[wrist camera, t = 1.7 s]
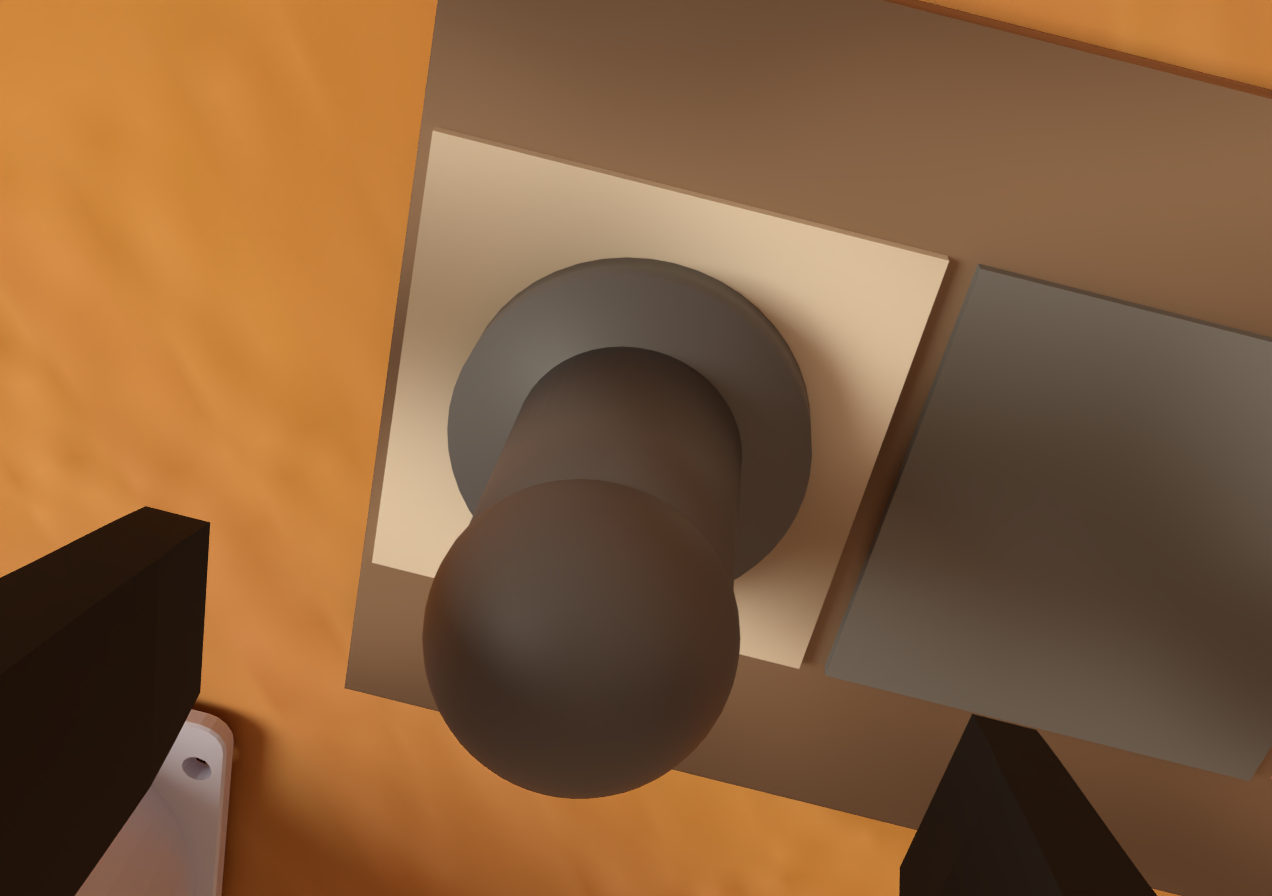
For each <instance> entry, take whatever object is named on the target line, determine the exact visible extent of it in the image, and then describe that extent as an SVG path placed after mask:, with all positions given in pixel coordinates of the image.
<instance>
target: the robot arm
mask: <svg viewBox="0 0 1272 896" xmlns="http://www.w3.org/2000/svg"><path fill="white" fill-rule="evenodd" d="M209 532H210V522H206V521H202V520H198V519H194V518H190V517H186V516H182V515H178V514H174V513H170V512H166V511H162V510H158V509H154V508H150V507H146V506H145V507H143V508H141V509H139V510H137V511H134V512H132V513H130V514H128V515H126V516H124V517H122V518H119V519H117V520H115V521H113V522H111V523H109V524H107V525H105V526H103V527H101V528H99V529H97V530H95V531H93V532H91V533H89V534H87V535H85V536H83V537H81V538H79V539H77V540H75V541H73V542H71V543H70V544H68V545H66V546H64V547H62V548H60V549H58V550H56V551H54V552H52V553H50V554H48V555H46V556H44V557H42V558H40V559H38V560H36V561H34V562H32V563H30V564H28V565H26V566H24V567H22V568H20V569H18V570H16V571H14V572H11V573H9V574H7V575H5V576H3V577H1V578H0V896H221V894H222V882H223V870H224V857H225V845H226V832H227V820H228V808H229V795H230V783H231V770H232V758H233V745H234V739H233V733H232V731H231V730H230V728H229V727H228V725H227V724H226V723H225V722H224V721H222V720H221V719H220V718H218V717H216V716H214V715H211V714H209V713H205V712H201V711H197V710H193V709H192V707H193V705H194V703H195V701H196V700H197V698H198V696H199V694H200V685H201V668H202V651H203V634H204V617H205V600H206V583H207V566H208V549H209ZM195 757H196V758H199V759H202V760H204V761H205V762H206V763H207V764H204V763H202V762H199V761H198V760H197V759H196V758H195ZM899 896H1157V895H1156V893H1155V892H1154V891H1153V889H1152V888H1151V887H1150V885H1149V884H1148V883H1147V881H1146V880H1145V879H1144V877H1143V876H1142V874H1141V873H1140V872H1139V870H1138V869H1137V868H1136V866H1135V865H1134V863H1133V862H1132V861H1131V859H1130V858H1129V857H1128V855H1127V854H1126V852H1125V851H1124V850H1123V848H1122V847H1121V846H1120V844H1119V843H1118V841H1117V840H1116V838H1115V837H1114V836H1113V834H1112V833H1111V831H1110V830H1109V829H1108V827H1107V826H1106V824H1105V823H1104V822H1103V820H1102V819H1101V817H1100V816H1099V815H1098V813H1097V812H1096V810H1095V809H1094V808H1093V806H1092V805H1091V803H1090V802H1089V801H1088V799H1087V798H1086V796H1085V795H1084V794H1083V792H1082V791H1081V789H1080V788H1079V787H1078V785H1077V784H1076V782H1075V781H1074V779H1073V778H1072V777H1071V775H1070V774H1069V772H1068V771H1067V770H1066V768H1065V767H1064V766H1063V764H1062V763H1061V761H1060V760H1059V759H1058V757H1057V756H1056V755H1055V753H1054V752H1053V750H1052V749H1051V748H1050V746H1049V745H1048V744H1047V743H1046V741H1045V740H1044V739H1043V737H1042V736H1041V735H1040V734H1039V732H1038V731H1037V730H1035V729H1031V728H1027V727H1023V726H1019V725H1015V724H1011V723H1007V722H1003V721H999V720H995V719H991V718H987V717H983V716H979V715H975V714H972V715H971V717H970V719H969V722H968V724H967V726H966V728H965V730H964V732H963V734H962V736H961V739H960V741H959V743H958V745H957V747H956V749H955V751H954V753H953V756H952V758H951V760H950V762H949V764H948V766H947V768H946V770H945V773H944V775H943V777H942V779H941V781H940V783H939V785H938V788H937V790H936V792H935V794H934V796H933V798H932V800H931V802H930V805H929V807H928V809H927V811H926V813H925V815H924V817H923V819H922V822H921V824H920V826H919V828H918V830H917V832H916V834H915V837H914V839H913V841H912V843H911V845H910V847H909V849H908V851H907V854H906V856H905V858H904V860H903V862H902V864H901V866H900V895H899Z"/></svg>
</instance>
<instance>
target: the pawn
mask: <svg viewBox="0 0 1272 896" xmlns="http://www.w3.org/2000/svg"><path fill="white" fill-rule="evenodd" d="M447 435H448V451H449V456H450V461H451V466H452V471H453V474H454V477H455V480H456V483H457V486H458V488H459V491H460V493H461V495H462V497H463V499H464V501H465V503H466V505H467V507H468V509H469V511H470V512H471V514H472V515H473V517H472V519H471V521H470V524H469V526H468V527H467V528H466V529H465V530H464V531H463V532H462V533H461V535H460V536H459V537H458V538H457V539H456V540H455V542H454V543H453V545H452V546H451V548H450V549H449V551H448V553H447V554H446V556H445V557H444V559H443V561H442V562H441V564H440V566H439V568H438V571H437V573H436V575H435V577H434V580H433V583H432V586H431V589H430V592H429V595H428V599H427V603H426V607H425V613H424V623H423V634H422V643H423V656H424V666H425V671H426V675H427V680H428V683H429V686H430V689H431V692H432V695H433V697H434V700H435V703H436V705H437V708H438V710H439V712H440V713H441V715H442V717H443V719H444V721H445V722H446V724H447V725H448V727H449V728H450V730H451V731H452V733H453V734H454V735H455V737H456V738H457V740H458V741H459V742H460V744H461V745H462V746H463V747H464V748H465V749H466V750H467V751H468V752H469V753H470V754H471V755H472V756H473V757H474V758H476V759H477V760H478V761H479V762H480V763H481V764H483V765H484V766H485V767H487V768H488V769H489V770H491V771H492V772H494V773H495V774H497V775H498V776H500V777H501V778H503V779H505V780H507V781H509V782H511V783H513V784H515V785H517V786H520V787H522V788H524V789H527V790H530V791H533V792H536V793H540V794H543V795H549V796H554V797H560V798H570V799H589V798H598V797H605V796H611V795H615V794H620V793H624V792H627V791H630V790H633V789H636V788H639V787H641V786H643V785H645V784H647V783H650V782H652V781H654V780H655V779H657V778H659V777H661V776H662V775H664V774H666V773H667V772H669V771H670V770H672V769H673V768H675V767H676V766H677V765H678V764H680V763H681V762H682V761H683V760H684V759H685V758H687V757H688V756H689V755H690V754H691V753H692V752H693V751H694V750H695V749H696V748H697V747H698V746H699V744H700V743H701V742H702V741H703V740H704V739H705V738H706V736H707V735H708V733H709V732H710V730H711V729H712V727H713V726H714V724H715V723H716V721H717V719H718V718H719V716H720V715H721V713H722V711H723V709H724V706H725V704H726V702H727V699H728V697H729V694H730V692H731V689H732V687H733V684H734V680H735V676H736V672H737V667H738V660H739V652H740V624H739V612H738V607H737V603H736V598H735V594H734V591H733V590H734V580H735V579H737V578H739V577H740V576H742V575H743V574H745V573H746V572H747V571H749V570H750V569H752V568H753V567H754V566H756V565H757V564H758V563H759V562H760V561H761V560H762V559H764V558H765V557H766V556H767V555H768V554H769V553H770V552H771V551H772V550H773V549H774V548H775V546H776V545H777V544H778V543H779V542H780V540H781V539H782V538H783V537H784V535H785V534H786V533H787V531H788V529H789V528H790V526H791V524H792V523H793V521H794V519H795V518H796V516H797V514H798V511H799V509H800V506H801V504H802V502H803V499H804V497H805V493H806V489H807V486H808V482H809V478H810V470H811V461H812V442H811V421H810V405H809V400H808V395H807V390H806V385H805V382H804V379H803V376H802V374H801V371H800V368H799V365H798V363H797V361H796V359H795V357H794V355H793V353H792V351H791V349H790V347H789V346H788V344H787V343H786V341H785V340H784V338H783V337H782V335H781V334H780V333H779V331H778V330H777V328H776V327H775V326H774V325H773V324H772V322H771V321H770V320H769V319H768V318H767V317H766V316H765V315H764V314H763V313H762V312H761V311H760V310H759V309H758V308H757V307H756V306H755V305H754V304H752V303H751V302H750V301H749V300H747V299H746V298H745V297H744V296H743V295H741V294H740V293H738V292H737V291H735V290H734V289H732V288H731V287H729V286H727V285H726V284H724V283H723V282H721V281H719V280H717V279H715V278H713V277H711V276H708V275H706V274H704V273H702V272H700V271H697V270H694V269H691V268H688V267H685V266H682V265H679V264H676V263H671V262H666V261H660V260H655V259H648V258H630V257H622V258H607V259H599V260H594V261H589V262H584V263H579V264H576V265H573V266H570V267H567V268H564V269H561V270H558V271H555V272H553V273H551V274H549V275H547V276H545V277H543V278H541V279H539V280H537V281H535V282H534V283H532V284H531V285H530V286H528V287H527V288H525V289H524V290H522V291H521V292H519V293H518V294H517V295H515V296H514V297H513V298H512V299H511V300H510V301H509V302H508V303H507V304H506V305H505V306H503V307H502V308H501V309H500V310H499V312H498V313H497V314H496V315H495V317H494V318H493V319H492V320H491V321H490V323H489V324H488V325H487V327H486V328H485V330H484V332H483V333H482V335H481V337H480V338H479V340H478V342H477V343H476V345H475V347H474V348H473V350H472V352H471V354H470V355H469V357H468V359H467V360H466V362H465V364H464V365H463V367H462V369H461V372H460V374H459V377H458V379H457V382H456V384H455V387H454V390H453V394H452V398H451V402H450V406H449V415H448V426H447Z"/></svg>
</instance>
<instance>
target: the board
mask: <svg viewBox="0 0 1272 896" xmlns="http://www.w3.org/2000/svg"><path fill="white" fill-rule="evenodd" d="M622 257H630V258H648V259H655V260H660V261H666V262H671V263H676V264H679V265H682V266H685V267H688V268H691V269H694V270H697V271H700V272H702V273H704V274H706V275H708V276H711V277H713V278H715V279H717V280H719V281H721V282H723V283H724V284H726V285H727V286H729V287H731V288H732V289H734V290H735V291H737V292H738V293H740V294H741V295H743V296H744V297H745V298H746V299H747V300H749V301H750V302H751V303H752V304H754V305H755V306H756V307H757V308H758V309H759V310H760V311H761V312H762V313H763V314H764V315H765V316H766V317H767V318H768V319H769V320H770V321H771V322H772V324H773V325H774V326H775V327H776V328H777V330H778V331H779V333H780V334H781V335H782V337H783V338H784V340H785V341H786V343H787V344H788V346H789V347H790V349H791V351H792V353H793V355H794V357H795V359H796V361H797V363H798V365H799V368H800V371H801V374H802V376H803V379H804V382H805V385H806V390H807V395H808V400H809V405H810V421H811V442H812V461H811V470H810V478H809V482H808V486H807V489H806V493H805V497H804V499H803V502H802V504H801V506H800V509H799V511H798V514H797V516H796V518H795V519H794V521H793V523H792V524H791V526H790V528H789V529H788V531H787V533H786V534H785V535H784V537H783V538H782V539H781V540H780V542H779V543H778V544H777V545H776V546H775V548H774V549H773V550H772V551H771V552H770V553H769V554H768V555H767V556H766V557H765V558H764V559H762V560H761V561H760V562H759V563H758V564H757V565H756V566H754V567H753V568H752V569H750V570H749V571H747V572H746V573H745V574H743V575H742V576H740V577H739V578H737V579H735V580H734V590H733V591H734V594H735V598H736V603H737V607H738V612H739V624H740V652H739V660H738V667H737V672H736V676H735V680H734V684H733V687H732V689H731V692H730V694H729V697H728V699H727V702H726V704H725V706H724V709H723V711H722V713H721V715H720V716H719V718H718V719H717V721H716V723H715V724H714V726H713V727H712V729H711V730H710V732H709V733H708V735H707V736H706V738H705V739H704V740H703V741H702V742H701V743H700V744H699V746H698V747H697V748H696V749H695V750H694V751H693V752H692V753H691V754H690V755H689V756H688V757H687V758H685V759H684V760H683V761H682V762H681V763H680V764H678V765H677V766H676V767H675V768H673V770H677V771H681V772H685V773H689V774H693V775H697V776H701V777H705V778H709V779H713V780H717V781H721V782H725V783H729V784H733V785H737V786H741V787H746V788H750V789H754V790H758V791H762V792H766V793H770V794H774V795H778V796H782V797H786V798H790V799H794V800H798V801H802V802H806V803H810V804H814V805H818V806H822V807H826V808H830V809H834V810H838V811H842V812H846V813H850V814H854V815H858V816H862V817H866V818H870V819H875V820H879V821H883V822H887V823H891V824H895V825H899V826H903V827H907V828H911V829H915V830H918V828H919V826H920V824H921V822H922V819H923V817H924V815H925V813H926V811H927V809H928V807H929V805H930V802H931V800H932V798H933V796H934V794H935V792H936V790H937V788H938V785H939V783H940V781H941V779H942V777H943V775H944V773H945V770H946V768H947V766H948V764H949V762H950V760H951V758H952V756H953V753H954V751H955V749H956V747H957V745H958V743H959V741H960V739H961V736H962V734H963V732H964V730H965V728H966V726H967V724H968V722H969V719H970V717H971V715H972V714H975V715H979V716H983V717H987V718H991V719H995V720H999V721H1003V722H1007V723H1011V724H1015V725H1019V726H1023V727H1027V728H1031V729H1035V730H1037V731H1038V732H1039V734H1040V735H1041V736H1042V737H1043V739H1044V740H1045V741H1046V743H1047V744H1048V745H1049V746H1050V748H1051V749H1052V750H1053V752H1054V753H1055V755H1056V756H1057V757H1058V759H1059V760H1060V761H1061V763H1062V764H1063V766H1064V767H1065V768H1066V770H1067V771H1068V772H1069V774H1070V775H1071V777H1072V778H1073V779H1074V781H1075V782H1076V784H1077V785H1078V787H1079V788H1080V789H1081V791H1082V792H1083V794H1084V795H1085V796H1086V798H1087V799H1088V801H1089V802H1090V803H1091V805H1092V806H1093V808H1094V809H1095V810H1096V812H1097V813H1098V815H1099V816H1100V817H1101V819H1102V820H1103V822H1104V823H1105V824H1106V826H1107V827H1108V829H1109V830H1110V831H1111V833H1112V834H1113V836H1114V837H1115V838H1116V840H1117V841H1118V843H1119V844H1120V846H1121V847H1122V848H1123V850H1124V851H1125V852H1126V854H1127V855H1128V857H1129V858H1130V859H1131V861H1132V862H1133V863H1134V865H1135V866H1136V868H1137V869H1138V870H1139V872H1140V873H1141V874H1142V876H1143V877H1144V879H1145V880H1146V881H1147V883H1148V884H1149V885H1150V887H1151V888H1153V889H1157V890H1161V891H1165V892H1169V893H1173V894H1177V895H1181V896H1272V90H1269V89H1265V88H1261V87H1257V86H1253V85H1249V84H1245V83H1241V82H1237V81H1233V80H1229V79H1225V78H1221V77H1218V76H1214V75H1210V74H1206V73H1202V72H1198V71H1194V70H1190V69H1186V68H1182V67H1178V66H1174V65H1170V64H1166V63H1162V62H1158V61H1155V60H1151V59H1147V58H1143V57H1139V56H1135V55H1131V54H1127V53H1123V52H1119V51H1115V50H1111V49H1107V48H1103V47H1099V46H1095V45H1092V44H1088V43H1084V42H1080V41H1076V40H1072V39H1068V38H1064V37H1060V36H1056V35H1052V34H1048V33H1044V32H1040V31H1036V30H1033V29H1029V28H1025V27H1021V26H1017V25H1013V24H1009V23H1005V22H1001V21H997V20H993V19H989V18H985V17H981V16H977V15H973V14H970V13H966V12H962V11H958V10H954V9H950V8H946V7H942V6H938V5H934V4H930V3H926V2H922V1H918V0H438V3H437V11H436V18H435V25H434V33H433V40H432V48H431V55H430V62H429V70H428V77H427V84H426V92H425V99H424V107H423V114H422V121H421V129H420V136H419V143H418V151H417V158H416V165H415V173H414V180H413V188H412V195H411V202H410V210H409V217H408V224H407V232H406V239H405V247H404V254H403V261H402V269H401V276H400V283H399V291H398V298H397V305H396V313H395V320H394V328H393V335H392V342H391V350H390V357H389V364H388V372H387V379H386V387H385V394H384V401H383V409H382V416H381V423H380V431H379V438H378V446H377V453H376V460H375V468H374V475H373V482H372V490H371V497H370V504H369V512H368V519H367V527H366V534H365V541H364V549H363V556H362V563H361V571H360V578H359V586H358V593H357V600H356V608H355V615H354V622H353V630H352V637H351V644H350V652H349V659H348V667H347V674H346V681H345V688H346V689H350V690H354V691H358V692H363V693H367V694H371V695H375V696H379V697H383V698H387V699H391V700H395V701H399V702H403V703H407V704H411V705H415V706H419V707H423V708H427V709H431V710H435V711H439V710H438V708H437V705H436V703H435V700H434V697H433V695H432V692H431V689H430V686H429V683H428V680H427V675H426V671H425V666H424V656H423V643H422V634H423V623H424V613H425V607H426V603H427V599H428V595H429V592H430V589H431V586H432V583H433V580H434V577H435V575H436V573H437V571H438V568H439V566H440V564H441V562H442V561H443V559H444V557H445V556H446V554H447V553H448V551H449V549H450V548H451V546H452V545H453V543H454V542H455V540H456V539H457V538H458V537H459V536H460V535H461V533H462V532H463V531H464V530H465V529H466V528H467V527H468V526H469V524H470V521H471V519H472V517H473V515H472V514H471V512H470V511H469V509H468V507H467V505H466V503H465V501H464V499H463V497H462V495H461V493H460V491H459V488H458V486H457V483H456V480H455V477H454V474H453V471H452V466H451V461H450V456H449V451H448V435H447V426H448V415H449V406H450V402H451V398H452V394H453V390H454V387H455V384H456V382H457V379H458V377H459V374H460V372H461V369H462V367H463V365H464V364H465V362H466V360H467V359H468V357H469V355H470V354H471V352H472V350H473V348H474V347H475V345H476V343H477V342H478V340H479V338H480V337H481V335H482V333H483V332H484V330H485V328H486V327H487V325H488V324H489V323H490V321H491V320H492V319H493V318H494V317H495V315H496V314H497V313H498V312H499V310H500V309H501V308H502V307H503V306H505V305H506V304H507V303H508V302H509V301H510V300H511V299H512V298H513V297H514V296H515V295H517V294H518V293H519V292H521V291H522V290H524V289H525V288H527V287H528V286H530V285H531V284H532V283H534V282H535V281H537V280H539V279H541V278H543V277H545V276H547V275H549V274H551V273H553V272H555V271H558V270H561V269H564V268H567V267H570V266H573V265H576V264H579V263H584V262H589V261H594V260H599V259H607V258H622Z"/></svg>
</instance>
